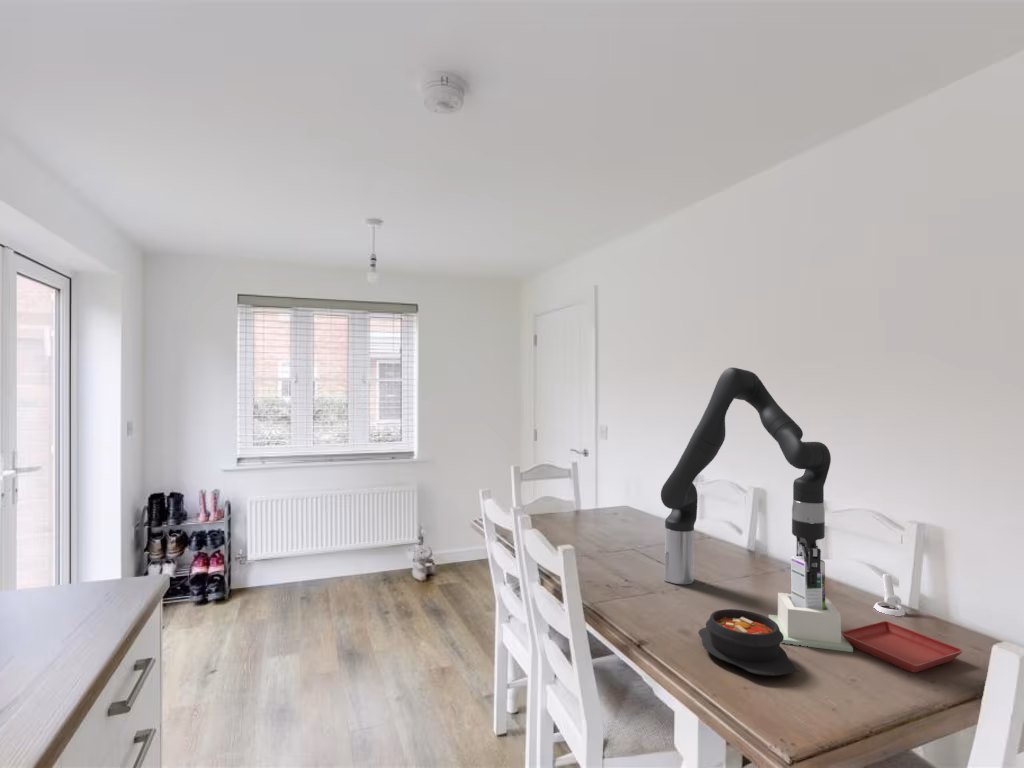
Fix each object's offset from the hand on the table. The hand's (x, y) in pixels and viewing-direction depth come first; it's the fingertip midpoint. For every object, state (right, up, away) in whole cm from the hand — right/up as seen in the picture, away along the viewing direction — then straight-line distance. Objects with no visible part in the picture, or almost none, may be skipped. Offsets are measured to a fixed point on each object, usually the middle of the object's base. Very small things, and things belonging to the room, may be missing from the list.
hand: (807, 581), depth 142 cm
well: (0, -13, 0) cm, 13 cm away
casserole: (-22, -13, -13) cm, 29 cm away
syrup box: (0, -9, 0) cm, 9 cm away
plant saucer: (+17, -14, -10) cm, 24 cm away
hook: (+32, -15, +16) cm, 39 cm away
